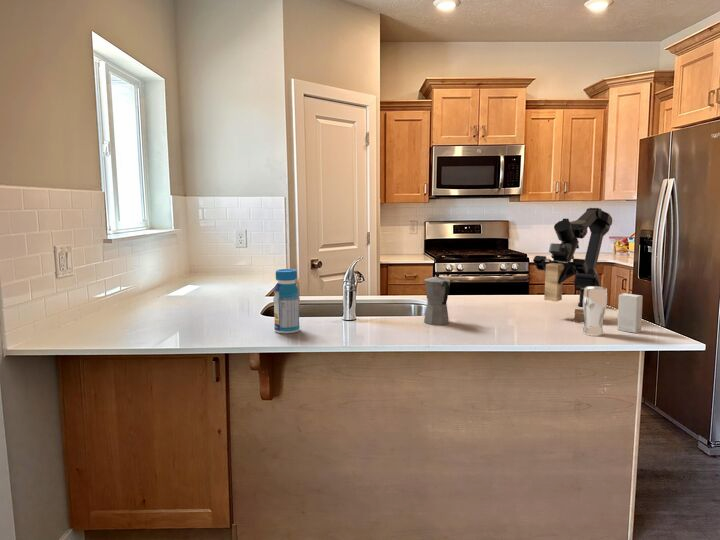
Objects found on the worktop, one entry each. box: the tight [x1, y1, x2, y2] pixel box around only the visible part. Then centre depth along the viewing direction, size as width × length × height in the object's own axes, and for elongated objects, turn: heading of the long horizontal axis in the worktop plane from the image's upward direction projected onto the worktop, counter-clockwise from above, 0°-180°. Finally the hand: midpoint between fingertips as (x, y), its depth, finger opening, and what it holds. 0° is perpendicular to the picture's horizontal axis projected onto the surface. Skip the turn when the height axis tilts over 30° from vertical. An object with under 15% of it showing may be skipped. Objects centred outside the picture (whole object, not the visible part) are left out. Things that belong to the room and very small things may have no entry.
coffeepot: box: [423, 271, 451, 326], centre depth 177 cm, size 15×9×18 cm, turn 15°
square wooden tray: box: [574, 308, 585, 323], centre depth 182 cm, size 9×9×3 cm
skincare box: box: [617, 292, 644, 334], centre depth 167 cm, size 6×4×12 cm
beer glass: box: [582, 286, 608, 337], centre depth 163 cm, size 7×7×15 cm
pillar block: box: [543, 263, 564, 302], centre depth 185 cm, size 4×4×13 cm
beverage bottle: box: [272, 268, 301, 334], centre depth 165 cm, size 8×8×20 cm
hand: (552, 282), depth 184 cm, fingers closed on pillar block, 4 cm apart
